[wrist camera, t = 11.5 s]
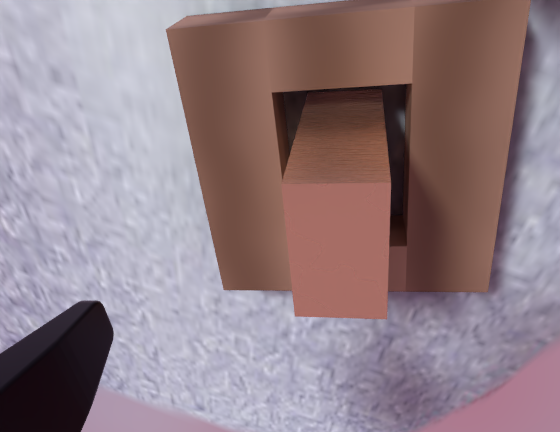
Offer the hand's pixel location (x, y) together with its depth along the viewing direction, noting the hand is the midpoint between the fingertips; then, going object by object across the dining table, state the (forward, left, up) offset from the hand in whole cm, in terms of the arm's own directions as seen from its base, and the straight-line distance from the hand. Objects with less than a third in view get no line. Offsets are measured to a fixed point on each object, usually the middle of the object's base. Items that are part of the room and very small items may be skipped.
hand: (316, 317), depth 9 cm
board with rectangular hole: (0, +2, -13) cm, 13 cm away
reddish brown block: (0, +2, -13) cm, 13 cm away
